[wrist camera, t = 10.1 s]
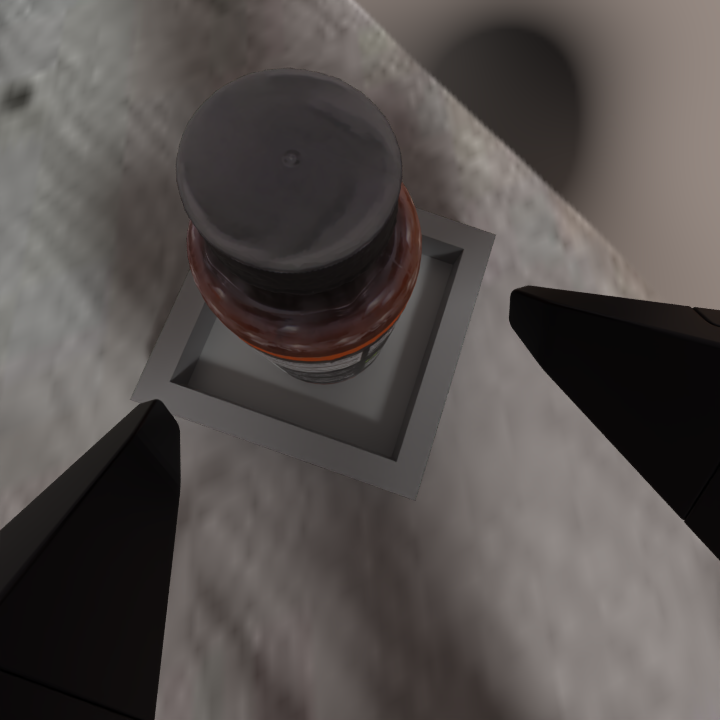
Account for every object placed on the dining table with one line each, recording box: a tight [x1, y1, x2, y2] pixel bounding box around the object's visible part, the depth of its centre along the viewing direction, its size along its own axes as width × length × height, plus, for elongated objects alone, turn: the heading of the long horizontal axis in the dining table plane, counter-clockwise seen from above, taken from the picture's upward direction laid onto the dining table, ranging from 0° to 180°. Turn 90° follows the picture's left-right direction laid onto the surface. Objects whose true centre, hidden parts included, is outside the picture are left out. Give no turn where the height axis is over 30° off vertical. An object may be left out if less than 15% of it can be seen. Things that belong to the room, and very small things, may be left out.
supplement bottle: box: [176, 68, 422, 385], centre depth 12 cm, size 6×6×11 cm
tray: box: [130, 207, 496, 500], centre depth 17 cm, size 12×12×2 cm
